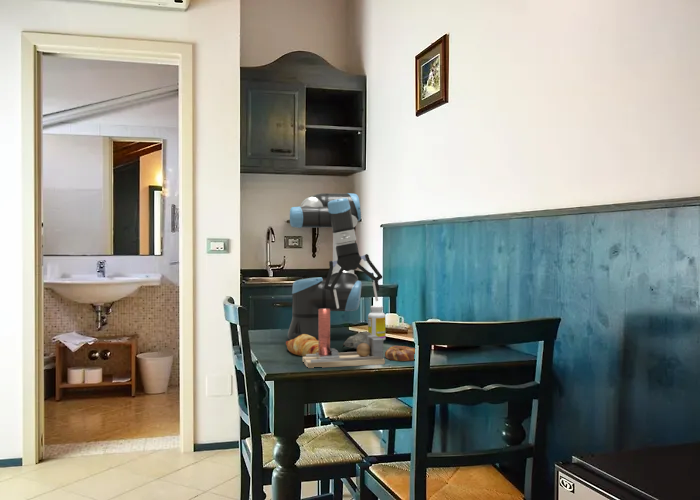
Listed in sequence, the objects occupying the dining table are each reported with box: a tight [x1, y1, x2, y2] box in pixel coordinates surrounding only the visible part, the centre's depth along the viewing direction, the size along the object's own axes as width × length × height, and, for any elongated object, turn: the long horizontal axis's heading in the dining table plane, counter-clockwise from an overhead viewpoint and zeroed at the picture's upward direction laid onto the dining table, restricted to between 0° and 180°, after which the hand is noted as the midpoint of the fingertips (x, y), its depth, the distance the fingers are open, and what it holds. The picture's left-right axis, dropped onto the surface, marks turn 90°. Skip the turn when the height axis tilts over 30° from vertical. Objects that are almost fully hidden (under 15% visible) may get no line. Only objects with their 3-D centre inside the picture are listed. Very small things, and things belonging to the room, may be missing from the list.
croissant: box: [285, 334, 319, 357], centre depth 201 cm, size 21×10×8 cm, turn 44°
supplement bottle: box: [367, 305, 387, 341], centre depth 228 cm, size 7×7×13 cm
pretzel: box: [384, 345, 416, 362], centre depth 194 cm, size 12×11×4 cm
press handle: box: [316, 308, 340, 359], centre depth 185 cm, size 7×6×15 cm
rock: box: [342, 330, 372, 350], centre depth 207 cm, size 13×9×6 cm, turn 124°
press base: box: [302, 335, 386, 369], centre depth 187 cm, size 10×24×8 cm, turn 104°
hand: (357, 304), depth 206 cm, fingers open, 13 cm apart
